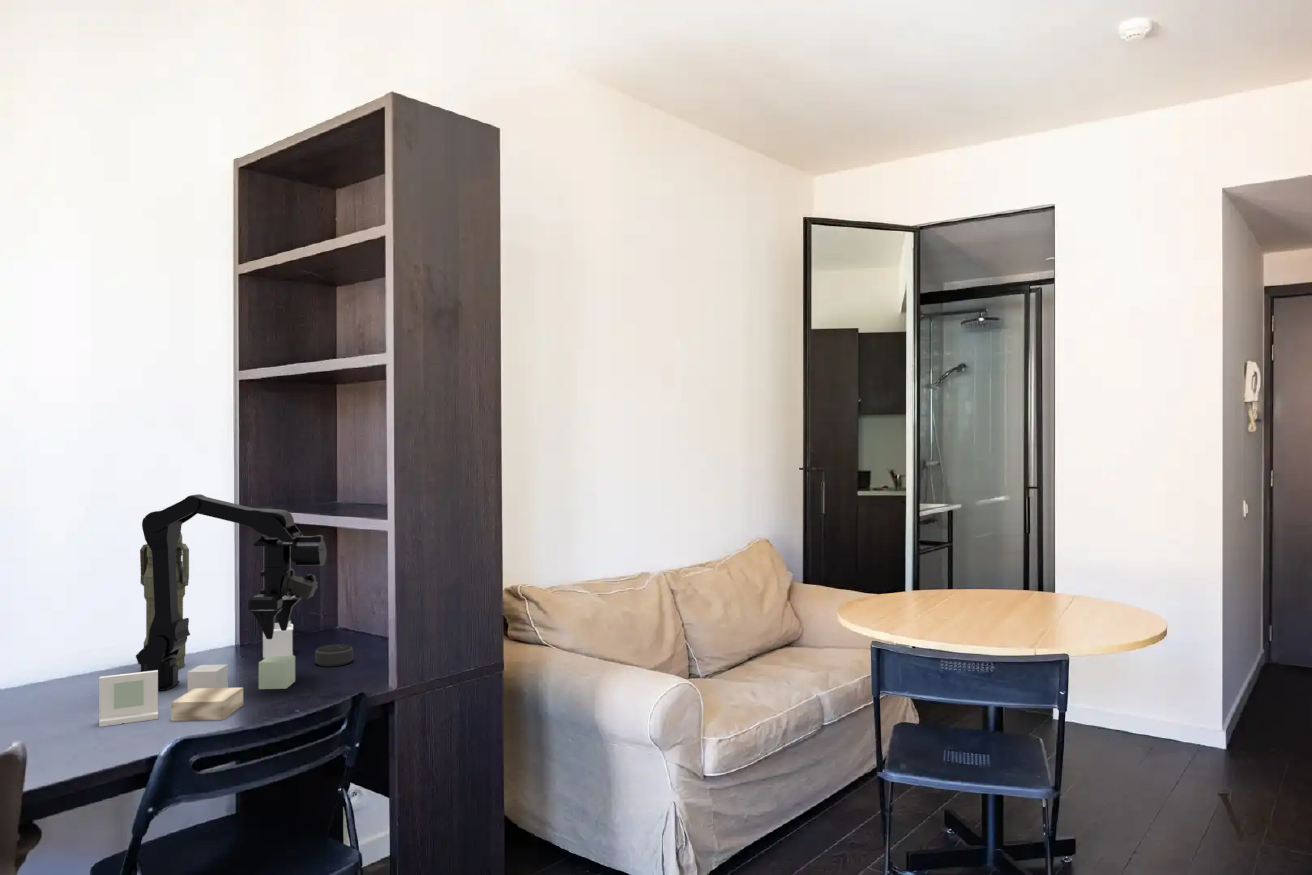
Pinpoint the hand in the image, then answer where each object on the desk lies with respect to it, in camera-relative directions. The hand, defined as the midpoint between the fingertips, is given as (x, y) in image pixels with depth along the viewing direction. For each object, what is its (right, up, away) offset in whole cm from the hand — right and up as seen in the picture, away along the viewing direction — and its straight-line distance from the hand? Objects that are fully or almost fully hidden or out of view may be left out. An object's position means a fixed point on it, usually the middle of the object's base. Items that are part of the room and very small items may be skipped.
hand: (276, 634), depth 203 cm
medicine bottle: (-12, -12, +29) cm, 34 cm away
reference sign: (-19, -11, -25) cm, 33 cm away
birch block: (-5, -12, -21) cm, 24 cm away
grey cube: (-12, -12, -8) cm, 18 cm away
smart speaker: (+6, -12, +21) cm, 24 cm away
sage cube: (0, -12, 0) cm, 12 cm away
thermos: (-34, -12, +16) cm, 39 cm away
